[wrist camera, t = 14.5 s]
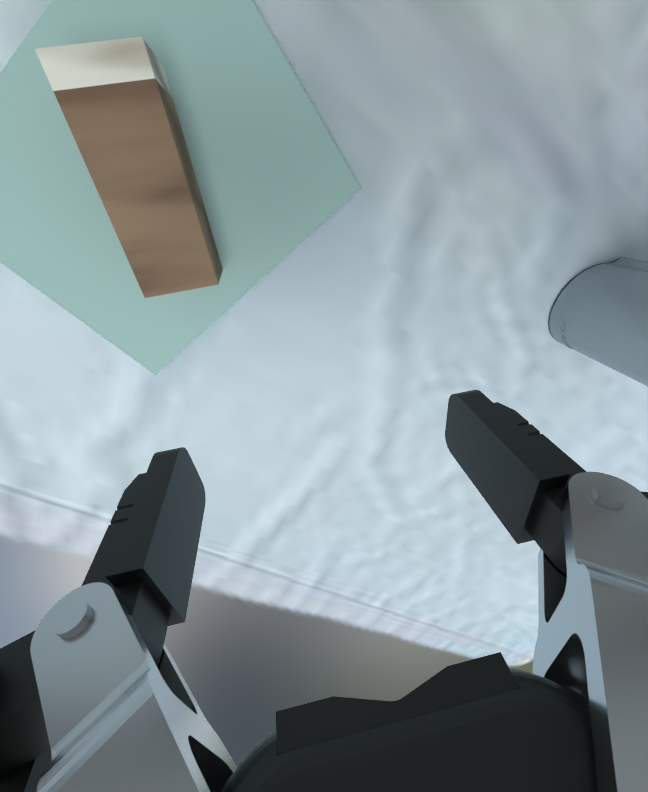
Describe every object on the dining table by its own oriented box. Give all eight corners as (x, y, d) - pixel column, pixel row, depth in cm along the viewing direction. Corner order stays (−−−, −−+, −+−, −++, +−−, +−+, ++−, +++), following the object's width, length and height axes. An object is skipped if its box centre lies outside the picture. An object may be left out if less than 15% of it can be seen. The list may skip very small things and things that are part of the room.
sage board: (168, -134, 17) (163, -154, 16) (356, 187, 27) (361, 187, 26) (-74, 196, 22) (-90, 196, 21) (158, 369, 31) (155, 375, 30)
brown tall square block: (160, 280, 26) (79, 77, 20) (222, 269, 27) (163, 67, 20) (144, 298, 22) (34, 48, 16) (218, 284, 23) (142, 36, 16)
